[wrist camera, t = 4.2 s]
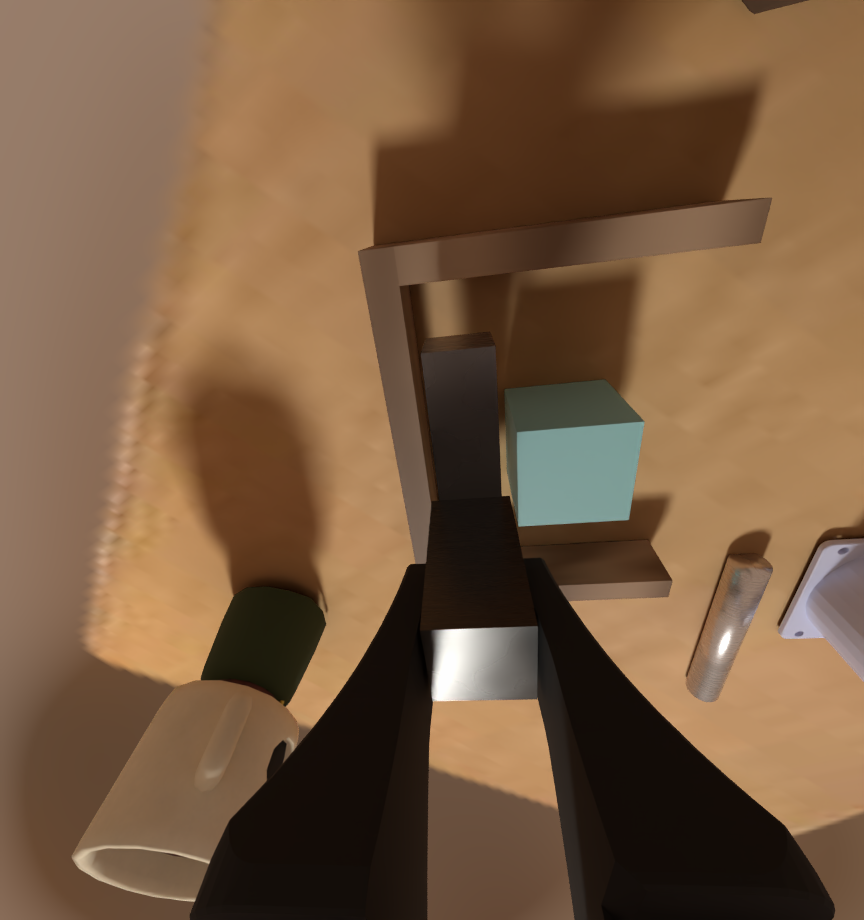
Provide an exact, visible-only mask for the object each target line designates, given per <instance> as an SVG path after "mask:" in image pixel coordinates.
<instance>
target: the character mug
mask: <svg viewBox="0 0 864 920" xmlns="http://www.w3.org/2000/svg"><path fill="white" fill-rule="evenodd" d="M325 626H326V622H325V618H324V614H323V611H322V610H321V609H320V608H319V607H318V605H317V604H316V603H315V602H314V601H313V600H312V599H311V598H309V597H306V596H303V595H300V594H297V593H294V592H291V591H287V590H282V589H277V588H272V587H251V588H246V589H244V590H242V591H241V592H239V593H237V594H235V595H234V597H233V599H232V601H231V603H230V605H229V608H228V610H227V612H226V614H225V616H224V619H223V621H222V623H221V626H220V628H219V631H218V633H217V636H216V638H215V641H214V643H213V646H212V648H211V651H210V653H209V656H208V659H207V661H206V664H205V666H204V669H203V672H202V675H201V680H197V681H192V682H189V683H187V684H184V685H181V686H178V687H176V688H175V689H174V690H173V692H172V693H171V694H170V695H169V696H168V697H167V699H166V700H165V702H164V703H163V705H162V706H161V707H160V709H159V710H158V712H157V713H156V715H155V717H154V718H153V720H152V722H151V724H150V725H149V727H148V728H147V730H146V732H145V733H144V735H143V737H142V739H141V740H140V742H139V743H138V745H137V747H136V748H135V750H134V752H133V753H132V755H131V757H130V759H129V761H128V762H127V763H126V765H125V767H124V769H123V770H122V772H121V774H120V775H119V777H118V778H117V780H116V782H115V784H114V785H113V787H112V788H111V790H110V792H109V793H108V795H107V797H106V799H105V800H104V802H103V804H102V805H101V807H100V809H99V810H98V812H97V814H96V815H95V817H94V819H93V820H92V822H91V824H90V825H89V827H88V829H87V830H86V832H85V834H84V835H83V837H82V839H81V840H80V842H79V844H78V846H77V848H76V849H75V851H74V853H73V855H72V859H73V861H74V862H75V863H76V865H77V867H78V868H79V869H80V870H82V871H84V872H86V873H87V874H89V875H91V876H92V877H94V878H96V879H97V880H100V881H103V882H105V883H108V884H111V885H114V886H116V887H119V888H122V889H124V890H128V891H132V892H136V893H140V894H144V895H149V896H153V897H161V898H168V899H175V900H184V901H195V900H196V897H197V895H198V892H199V889H200V887H201V884H202V881H203V879H204V876H205V873H206V871H207V868H208V865H209V863H210V860H211V858H212V856H213V854H214V851H215V849H216V847H217V845H218V843H219V841H220V839H221V837H222V834H223V832H224V830H225V828H226V826H227V824H228V822H229V820H230V819H231V818H232V817H233V816H234V815H235V814H236V813H237V812H238V811H239V809H240V808H241V807H242V806H243V805H244V804H245V803H246V802H247V801H248V800H249V799H250V798H251V797H252V796H253V795H254V794H255V793H256V792H257V791H258V790H259V789H260V787H261V786H262V785H263V784H264V783H265V782H266V781H267V780H268V779H269V778H270V777H271V776H272V775H273V774H274V773H275V772H276V770H277V769H278V768H279V767H280V766H281V765H282V764H283V763H284V761H285V760H286V759H287V758H288V757H289V755H290V754H291V753H292V752H293V751H294V750H295V748H296V745H297V741H298V733H299V728H298V724H297V721H296V719H295V718H294V717H293V715H292V714H291V713H290V712H289V710H288V709H287V708H286V706H287V705H288V703H289V702H290V701H291V699H292V697H293V695H294V693H295V691H296V689H297V687H298V685H299V683H300V681H301V679H302V677H303V675H304V673H305V671H306V669H307V667H308V665H309V662H310V660H311V658H312V656H313V654H314V652H315V650H316V647H317V645H318V643H319V640H320V638H321V636H322V633H323V631H324V628H325Z"/></svg>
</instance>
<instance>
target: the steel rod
mask: <svg viewBox="0 0 864 920" xmlns="http://www.w3.org/2000/svg"><path fill="white" fill-rule="evenodd" d="M772 572H773V568H772V565H771V564H770V563H769V562H768V561H767V560H766V559H765V558H763V557H762V556H760V555H758V554H755V553H747V554H729V556H728V559H727V562H726V565H725V568H724V571H723V573H722V576H721V579H720V582H719V585H718V588H717V591H716V594H715V597H714V600H713V603H712V605H711V608H710V611H709V614H708V617H707V620H706V623H705V626H704V629H703V632H702V635H701V638H700V640H699V643H698V646H697V649H696V652H695V655H694V658H693V661H692V664H691V667H690V670H689V672H688V675H687V678H686V686H687V688H688V690H689V691H690V693H691V694H692V695H693V696H695V697H696V698H698V699H700V700H702V701H705V702H714V701H716V700H717V699H718V698H719V695H720V693H721V691H722V688H723V686H724V684H725V681H726V679H727V677H728V674H729V672H730V670H731V667H732V665H733V663H734V660H735V658H736V656H737V653H738V651H739V649H740V646H741V644H742V642H743V639H744V637H745V635H746V632H747V630H748V628H749V625H750V623H751V621H752V618H753V616H754V614H755V612H756V609H757V607H758V605H759V602H760V600H761V598H762V595H763V593H764V591H765V588H766V586H767V584H768V581H769V579H770V577H771V574H772Z"/></svg>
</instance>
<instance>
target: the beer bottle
mask: <svg viewBox="0 0 864 920" xmlns="http://www.w3.org/2000/svg"><path fill="white" fill-rule="evenodd" d="M803 1H807V0H742V2H743V3H744V4H745V5H746V7H747V8H748V9H749V11H751V12H752V13H754V14H756V13H760V12H764V11H768V10H771V9H775V8H779V7H783V6H787V5H791V4H795V3H799V2H803Z"/></svg>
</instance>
